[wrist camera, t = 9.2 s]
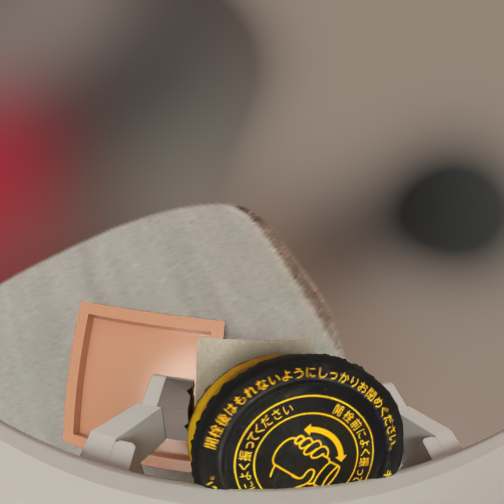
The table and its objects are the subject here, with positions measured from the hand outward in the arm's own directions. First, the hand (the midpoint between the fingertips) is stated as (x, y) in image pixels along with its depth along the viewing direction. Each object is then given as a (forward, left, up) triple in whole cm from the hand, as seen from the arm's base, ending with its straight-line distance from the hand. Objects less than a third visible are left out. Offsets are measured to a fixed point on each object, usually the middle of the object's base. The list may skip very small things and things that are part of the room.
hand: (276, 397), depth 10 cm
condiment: (-1, 0, -7) cm, 7 cm away
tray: (-1, +10, -19) cm, 22 cm away
